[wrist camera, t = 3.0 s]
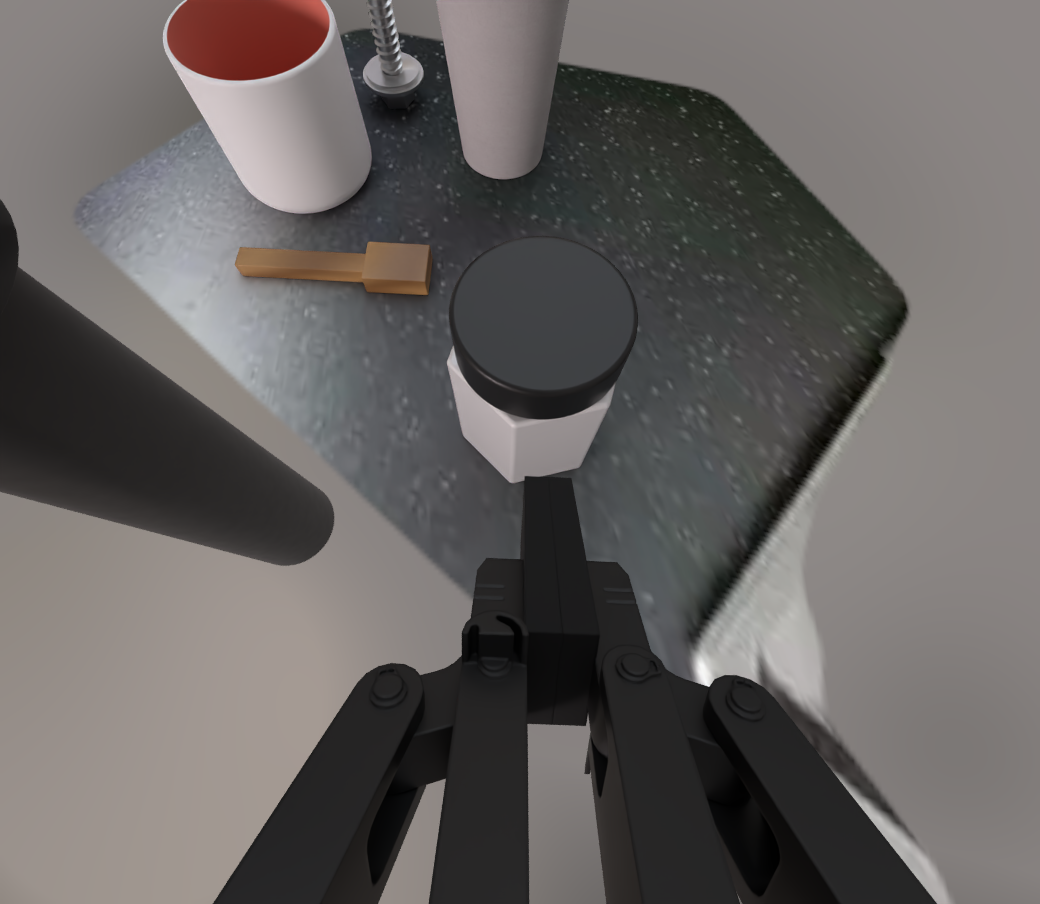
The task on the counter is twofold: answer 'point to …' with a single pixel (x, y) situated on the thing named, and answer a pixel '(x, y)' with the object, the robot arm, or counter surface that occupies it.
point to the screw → (390, 60)
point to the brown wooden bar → (347, 266)
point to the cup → (274, 96)
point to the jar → (538, 351)
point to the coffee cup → (502, 78)
